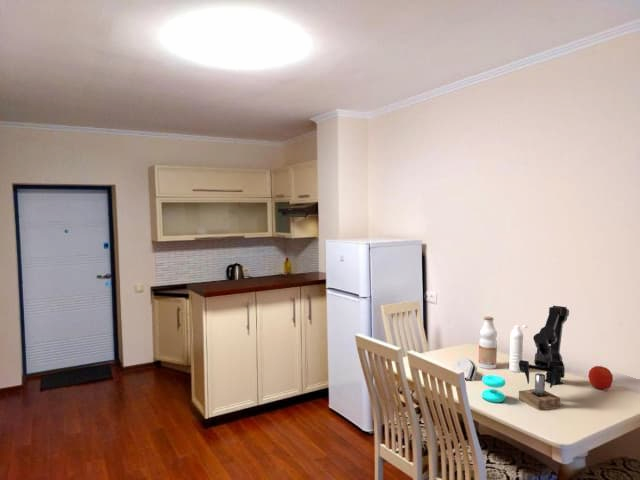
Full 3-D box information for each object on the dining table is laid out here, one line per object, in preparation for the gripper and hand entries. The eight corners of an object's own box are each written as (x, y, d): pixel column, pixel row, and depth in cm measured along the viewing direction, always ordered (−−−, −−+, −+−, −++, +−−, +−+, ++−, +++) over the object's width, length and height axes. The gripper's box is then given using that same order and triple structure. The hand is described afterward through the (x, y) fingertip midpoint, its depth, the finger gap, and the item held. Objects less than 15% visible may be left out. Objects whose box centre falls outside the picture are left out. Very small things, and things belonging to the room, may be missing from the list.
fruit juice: (484, 370, 252) (486, 319, 250) (475, 364, 261) (476, 315, 259) (499, 368, 254) (501, 319, 252) (489, 363, 263) (491, 315, 261)
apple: (614, 388, 227) (615, 365, 226) (609, 393, 219) (610, 370, 219) (590, 382, 233) (591, 360, 233) (585, 388, 226) (586, 365, 225)
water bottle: (511, 372, 248) (513, 326, 247) (507, 368, 255) (508, 324, 253) (528, 372, 248) (529, 327, 247) (523, 368, 254) (524, 324, 253)
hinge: (452, 370, 251) (458, 353, 251) (459, 372, 252) (466, 355, 251) (464, 381, 234) (471, 362, 234) (472, 384, 235) (479, 365, 235)
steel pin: (542, 401, 209) (543, 373, 209) (545, 405, 205) (546, 376, 205) (533, 401, 210) (534, 373, 209) (535, 404, 206) (537, 376, 205)
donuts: (482, 373, 218) (505, 375, 214) (481, 393, 218) (504, 396, 215) (482, 380, 208) (505, 383, 205) (481, 401, 209) (505, 404, 206)
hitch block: (539, 396, 215) (539, 388, 215) (560, 406, 204) (560, 398, 204) (518, 399, 212) (518, 390, 211) (538, 410, 200) (538, 401, 200)
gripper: (520, 342, 215) (515, 372, 206) (565, 349, 205) (561, 381, 196) (522, 355, 222) (517, 384, 213) (565, 362, 212) (562, 393, 203)
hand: (539, 385), depth 206 cm, fingers open, 9 cm apart
